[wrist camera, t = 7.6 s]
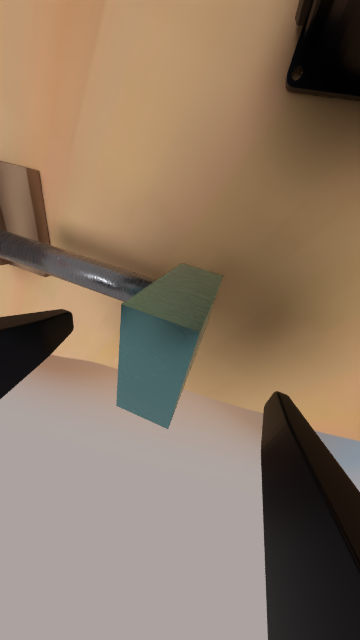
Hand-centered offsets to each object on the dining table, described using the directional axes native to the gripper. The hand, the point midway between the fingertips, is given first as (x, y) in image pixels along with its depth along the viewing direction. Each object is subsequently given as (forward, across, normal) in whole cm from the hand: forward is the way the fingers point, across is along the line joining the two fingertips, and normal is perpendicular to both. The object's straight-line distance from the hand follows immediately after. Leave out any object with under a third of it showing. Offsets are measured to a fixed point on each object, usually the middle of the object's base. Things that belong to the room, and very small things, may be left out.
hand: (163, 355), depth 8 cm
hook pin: (+6, +8, 0) cm, 10 cm away
